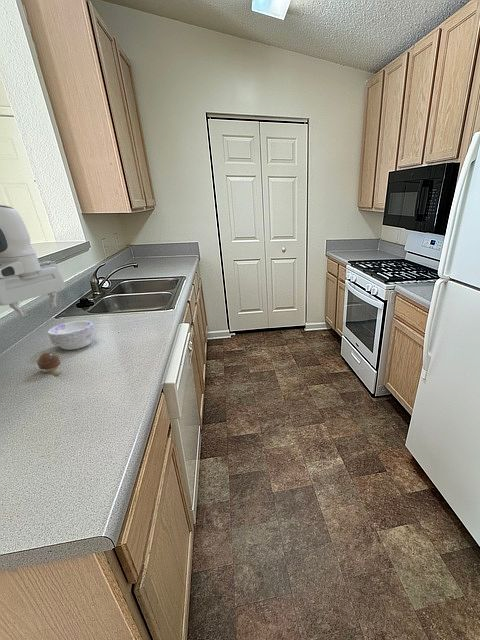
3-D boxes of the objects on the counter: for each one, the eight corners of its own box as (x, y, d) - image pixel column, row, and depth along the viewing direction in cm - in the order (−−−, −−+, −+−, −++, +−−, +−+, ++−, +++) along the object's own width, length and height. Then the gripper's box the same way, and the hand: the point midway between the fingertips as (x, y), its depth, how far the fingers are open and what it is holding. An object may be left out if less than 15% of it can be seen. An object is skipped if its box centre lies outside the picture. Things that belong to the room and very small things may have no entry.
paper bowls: (61, 340, 136) (54, 322, 132) (102, 335, 140) (96, 317, 136) (48, 356, 123) (40, 336, 119) (94, 350, 127) (87, 330, 123)
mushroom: (48, 380, 106) (39, 358, 103) (39, 376, 109) (30, 354, 106) (68, 372, 111) (60, 351, 107) (58, 368, 114) (50, 348, 110)
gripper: (47, 259, 106) (61, 301, 112) (-26, 272, 89) (-4, 321, 95) (61, 259, 104) (76, 302, 110) (-10, 273, 87) (11, 323, 93)
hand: (38, 311), depth 102 cm, fingers open, 8 cm apart
